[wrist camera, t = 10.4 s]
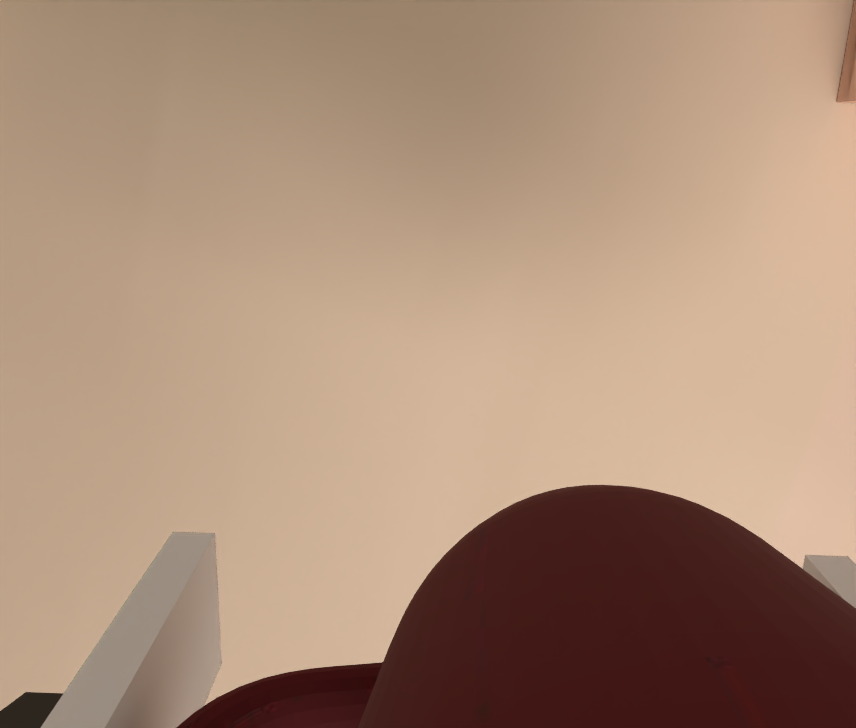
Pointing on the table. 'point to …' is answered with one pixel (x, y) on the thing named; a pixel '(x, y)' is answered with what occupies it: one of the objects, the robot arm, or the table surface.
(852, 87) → the tan open box
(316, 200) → the table surface
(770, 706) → the mug
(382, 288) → the table surface
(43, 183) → the table surface
